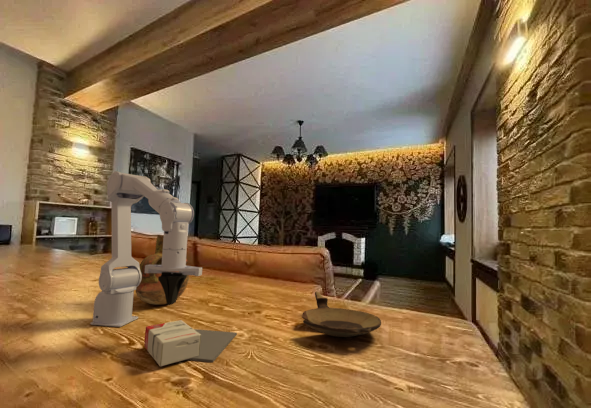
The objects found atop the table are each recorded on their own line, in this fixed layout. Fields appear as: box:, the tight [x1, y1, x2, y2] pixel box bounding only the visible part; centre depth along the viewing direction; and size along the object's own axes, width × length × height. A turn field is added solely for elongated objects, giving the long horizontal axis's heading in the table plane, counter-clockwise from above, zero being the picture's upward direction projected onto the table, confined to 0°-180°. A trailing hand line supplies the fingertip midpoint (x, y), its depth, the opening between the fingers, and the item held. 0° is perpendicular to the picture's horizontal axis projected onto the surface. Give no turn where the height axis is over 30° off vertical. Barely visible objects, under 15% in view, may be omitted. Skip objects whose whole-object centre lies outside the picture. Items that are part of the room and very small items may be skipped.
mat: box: [185, 328, 238, 363], centre depth 70 cm, size 14×16×1 cm
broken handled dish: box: [301, 290, 382, 338], centre depth 84 cm, size 22×30×8 cm
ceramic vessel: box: [135, 234, 190, 306], centre depth 106 cm, size 17×26×25 cm, turn 172°
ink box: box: [143, 319, 201, 367], centre depth 65 cm, size 8×5×12 cm
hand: (171, 303), depth 72 cm, fingers closed
